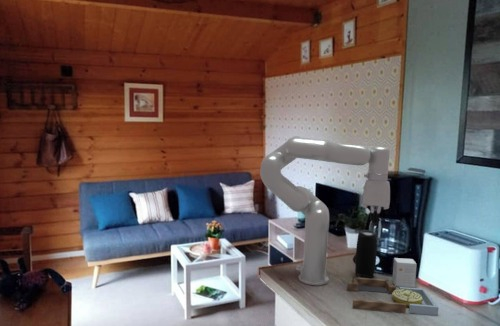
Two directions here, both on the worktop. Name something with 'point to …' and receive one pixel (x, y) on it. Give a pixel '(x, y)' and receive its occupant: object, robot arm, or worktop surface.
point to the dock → (423, 309)
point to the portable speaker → (366, 254)
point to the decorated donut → (407, 297)
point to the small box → (404, 272)
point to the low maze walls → (375, 304)
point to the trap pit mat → (372, 289)
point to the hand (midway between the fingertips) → (373, 222)
